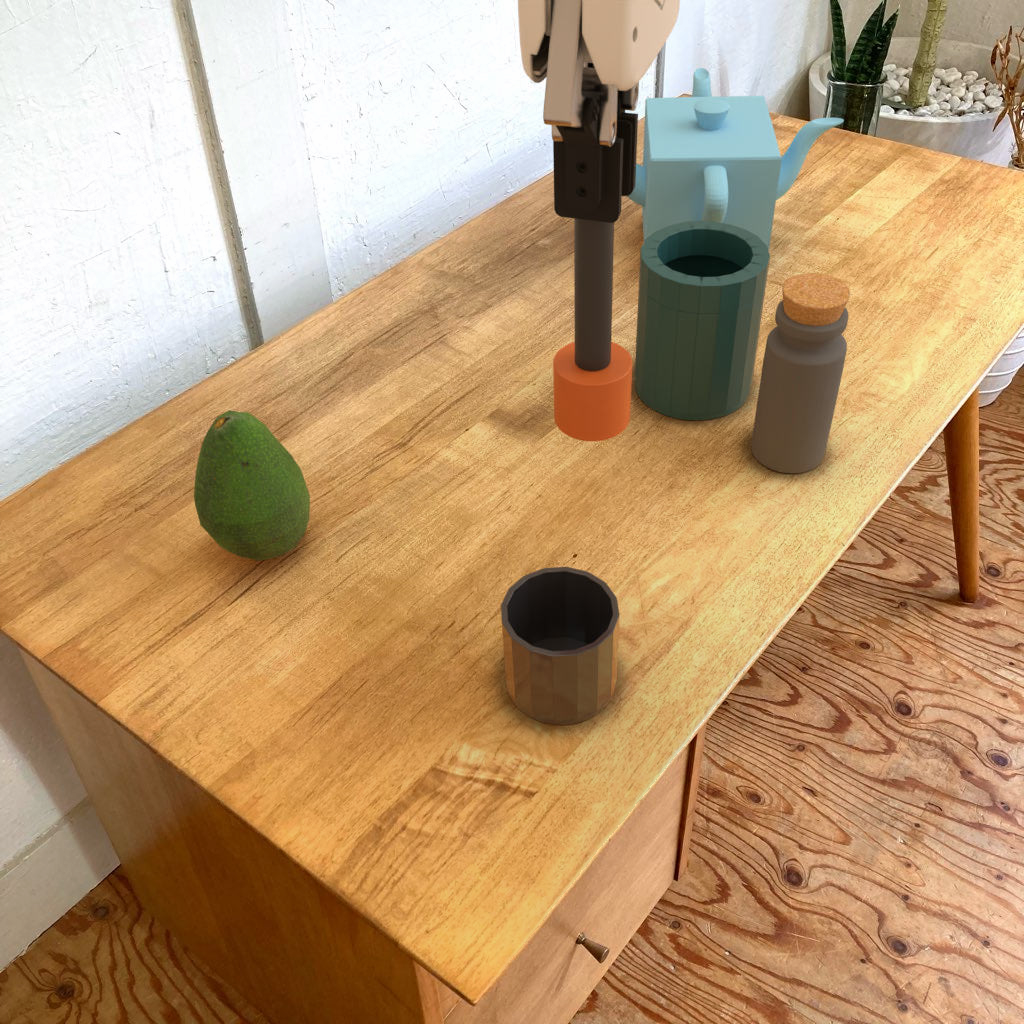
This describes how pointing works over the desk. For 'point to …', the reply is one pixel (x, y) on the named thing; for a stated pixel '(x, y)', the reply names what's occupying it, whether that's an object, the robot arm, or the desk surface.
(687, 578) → the desk surface
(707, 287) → the jar
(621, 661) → the desk surface
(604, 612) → the holder
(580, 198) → the robot arm
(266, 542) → the fruit
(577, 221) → the rod with orange collar
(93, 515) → the desk surface
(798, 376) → the bottle
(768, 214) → the teakettle
